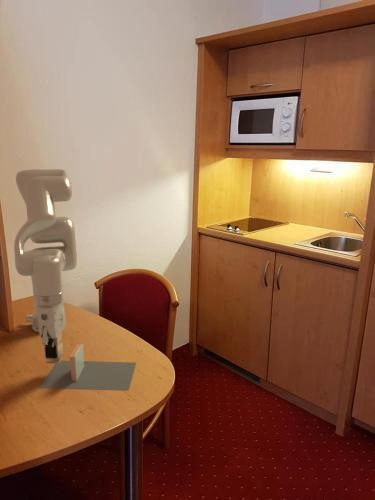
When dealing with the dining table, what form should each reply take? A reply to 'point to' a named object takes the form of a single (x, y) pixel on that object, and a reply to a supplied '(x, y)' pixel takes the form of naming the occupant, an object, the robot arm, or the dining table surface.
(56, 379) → the mat
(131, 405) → the dining table surface
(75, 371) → the tile
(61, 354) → the light wood block
